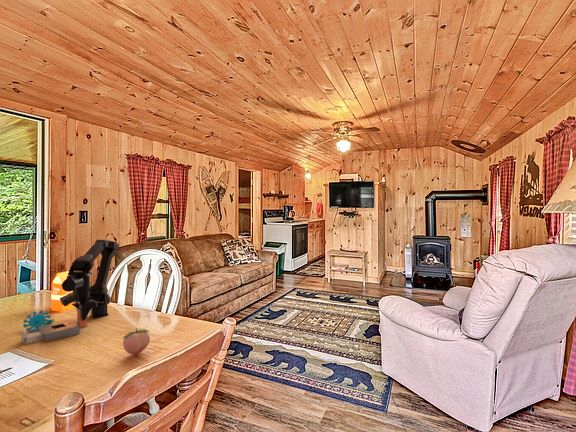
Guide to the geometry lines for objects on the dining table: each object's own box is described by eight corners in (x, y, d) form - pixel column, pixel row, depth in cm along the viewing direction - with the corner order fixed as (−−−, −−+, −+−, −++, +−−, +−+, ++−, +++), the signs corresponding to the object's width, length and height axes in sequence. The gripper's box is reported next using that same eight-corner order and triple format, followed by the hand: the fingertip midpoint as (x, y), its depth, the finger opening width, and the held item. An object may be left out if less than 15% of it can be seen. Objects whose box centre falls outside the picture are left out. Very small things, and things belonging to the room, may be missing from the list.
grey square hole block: (69, 327, 144) (69, 319, 144) (79, 333, 136) (79, 325, 136) (37, 334, 135) (37, 326, 135) (45, 342, 127) (45, 334, 127)
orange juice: (51, 310, 166) (51, 272, 166) (67, 305, 175) (67, 269, 174) (62, 312, 164) (62, 274, 164) (77, 307, 173) (78, 271, 172)
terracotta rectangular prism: (84, 324, 147) (84, 305, 147) (87, 326, 145) (87, 306, 145) (77, 326, 145) (77, 306, 145) (79, 327, 143) (79, 308, 143)
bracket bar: (39, 337, 132) (39, 325, 132) (42, 339, 130) (42, 327, 130) (21, 341, 127) (21, 329, 127) (24, 344, 125) (24, 332, 125)
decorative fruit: (142, 347, 125) (143, 322, 125) (153, 353, 120) (153, 327, 120) (118, 355, 118) (118, 328, 118) (127, 362, 113) (128, 334, 112)
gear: (18, 330, 135) (27, 309, 141) (20, 336, 138) (29, 315, 145) (49, 330, 139) (57, 310, 146) (50, 336, 143) (58, 316, 149)
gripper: (55, 285, 144) (54, 319, 145) (69, 293, 133) (68, 329, 133) (82, 281, 153) (82, 313, 153) (97, 288, 141) (97, 322, 142)
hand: (82, 319), depth 145 cm, fingers closed on terracotta rectangular prism, 3 cm apart
